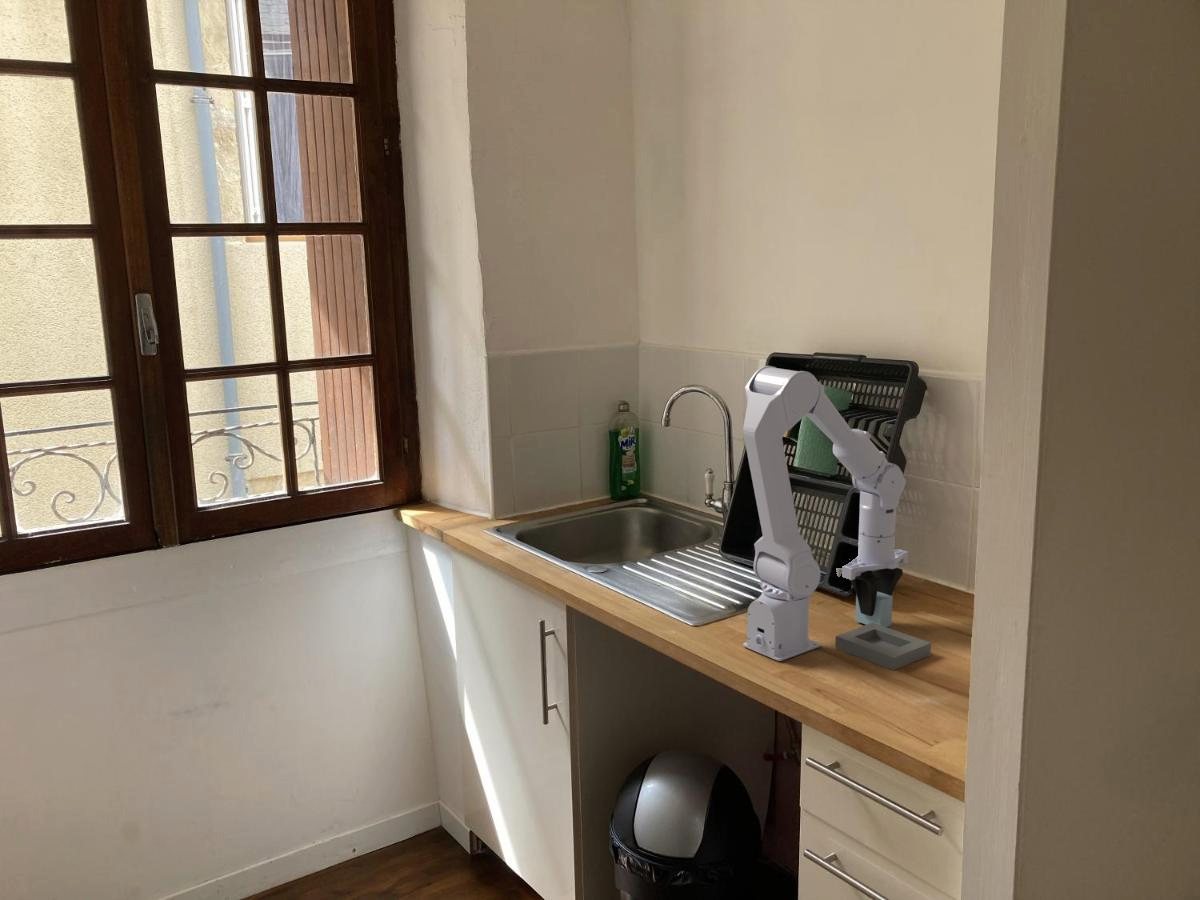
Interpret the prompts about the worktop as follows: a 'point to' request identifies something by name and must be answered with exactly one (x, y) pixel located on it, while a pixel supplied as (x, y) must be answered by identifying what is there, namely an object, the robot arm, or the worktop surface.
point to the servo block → (877, 611)
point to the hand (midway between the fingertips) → (873, 611)
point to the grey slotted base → (883, 646)
